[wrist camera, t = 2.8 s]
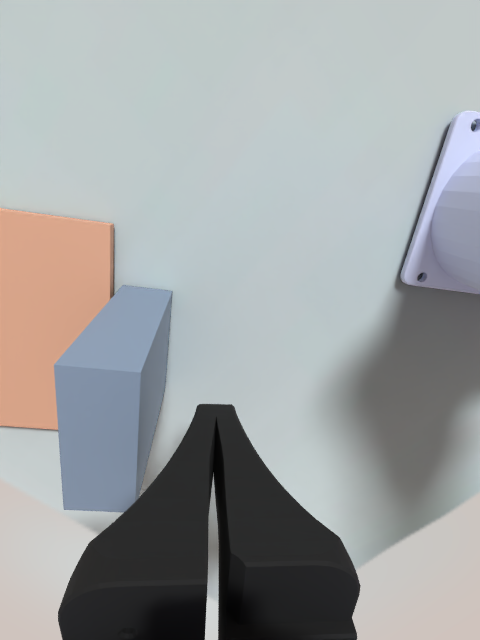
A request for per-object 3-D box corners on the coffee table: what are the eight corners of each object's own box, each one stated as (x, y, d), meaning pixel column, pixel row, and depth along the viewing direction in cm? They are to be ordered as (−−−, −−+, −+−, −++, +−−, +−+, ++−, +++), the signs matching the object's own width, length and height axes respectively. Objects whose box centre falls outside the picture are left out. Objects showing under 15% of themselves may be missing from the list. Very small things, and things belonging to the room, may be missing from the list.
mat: (113, 224, 16) (110, 225, 16) (112, 426, 21) (109, 433, 20) (-71, 198, 15) (-82, 199, 15) (-30, 416, 20) (-38, 422, 19)
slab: (172, 291, 18) (140, 372, 10) (165, 388, 20) (134, 513, 13) (122, 285, 17) (53, 364, 10) (121, 384, 20) (63, 509, 12)
